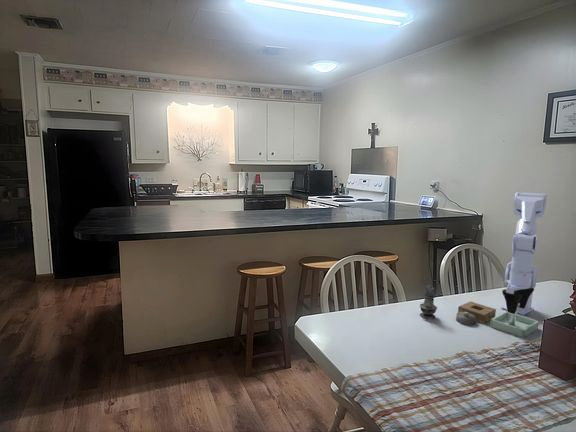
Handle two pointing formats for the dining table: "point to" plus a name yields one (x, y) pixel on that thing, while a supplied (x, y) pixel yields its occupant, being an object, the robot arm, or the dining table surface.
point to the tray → (521, 325)
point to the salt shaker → (428, 304)
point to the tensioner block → (474, 313)
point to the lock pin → (512, 317)
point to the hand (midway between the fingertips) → (516, 310)
